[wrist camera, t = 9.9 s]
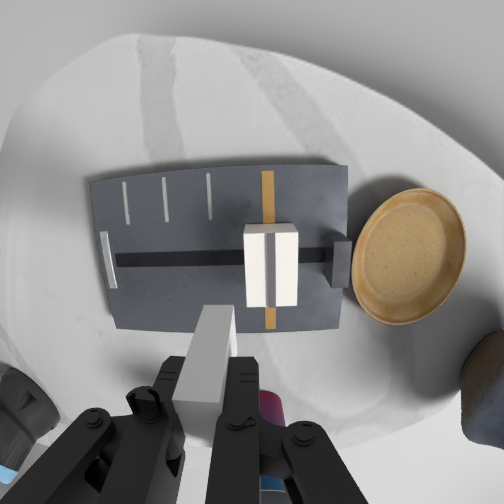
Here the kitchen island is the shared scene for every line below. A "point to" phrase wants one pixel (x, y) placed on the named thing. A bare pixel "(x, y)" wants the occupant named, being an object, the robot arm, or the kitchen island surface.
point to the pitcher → (484, 392)
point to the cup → (271, 411)
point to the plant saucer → (408, 256)
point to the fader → (271, 264)
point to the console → (219, 244)
